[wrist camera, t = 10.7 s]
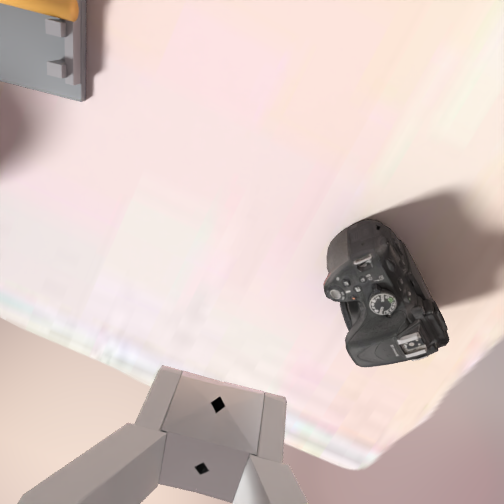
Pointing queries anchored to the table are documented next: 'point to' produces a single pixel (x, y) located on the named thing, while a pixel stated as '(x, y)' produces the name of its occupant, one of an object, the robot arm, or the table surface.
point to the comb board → (44, 46)
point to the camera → (381, 297)
